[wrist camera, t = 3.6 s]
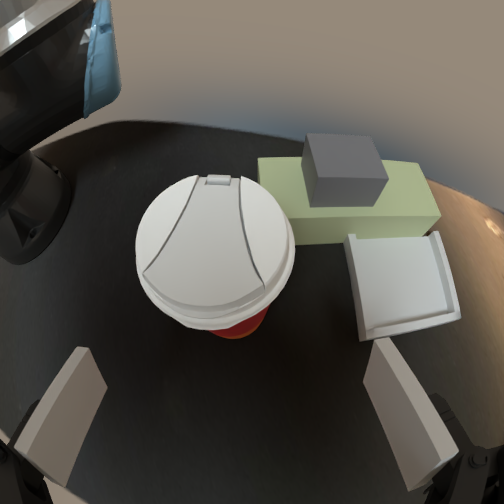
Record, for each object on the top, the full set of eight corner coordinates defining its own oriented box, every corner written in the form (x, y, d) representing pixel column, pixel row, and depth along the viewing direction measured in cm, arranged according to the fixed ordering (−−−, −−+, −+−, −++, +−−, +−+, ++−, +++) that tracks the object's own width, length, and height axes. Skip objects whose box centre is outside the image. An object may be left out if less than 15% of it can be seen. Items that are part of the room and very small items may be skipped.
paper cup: (197, 265, 26) (150, 164, 13) (278, 271, 26) (298, 169, 13) (185, 347, 23) (107, 310, 10) (273, 356, 22) (296, 332, 10)
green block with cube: (269, 351, 23) (277, 339, 14) (257, 189, 30) (257, 126, 22) (451, 321, 23) (508, 296, 15) (412, 189, 30) (443, 141, 22)
